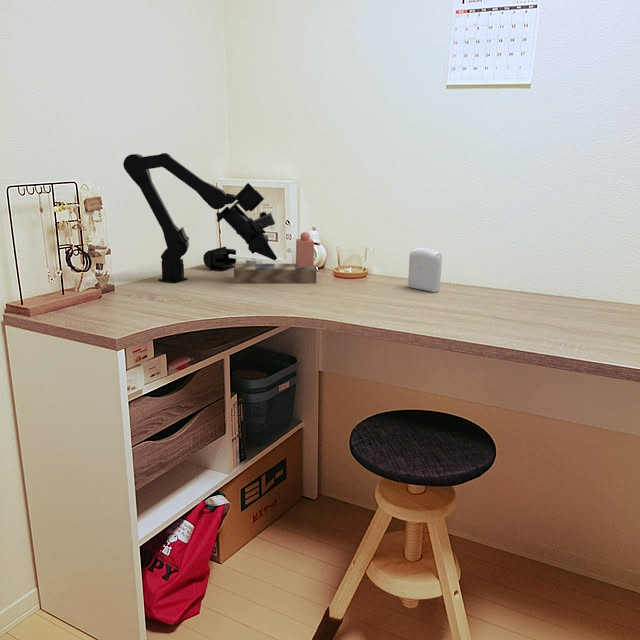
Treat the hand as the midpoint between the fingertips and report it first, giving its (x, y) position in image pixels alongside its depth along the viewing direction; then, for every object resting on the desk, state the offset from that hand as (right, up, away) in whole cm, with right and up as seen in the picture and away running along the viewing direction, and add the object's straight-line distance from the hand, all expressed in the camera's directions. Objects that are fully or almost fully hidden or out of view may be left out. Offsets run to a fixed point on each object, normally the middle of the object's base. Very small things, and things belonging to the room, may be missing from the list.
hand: (276, 259), depth 200 cm
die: (-8, -3, +13) cm, 16 cm away
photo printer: (+45, -10, -6) cm, 46 cm away
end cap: (-20, -2, +18) cm, 27 cm away
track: (-1, -6, +2) cm, 7 cm away
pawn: (+9, -2, +2) cm, 9 cm away
